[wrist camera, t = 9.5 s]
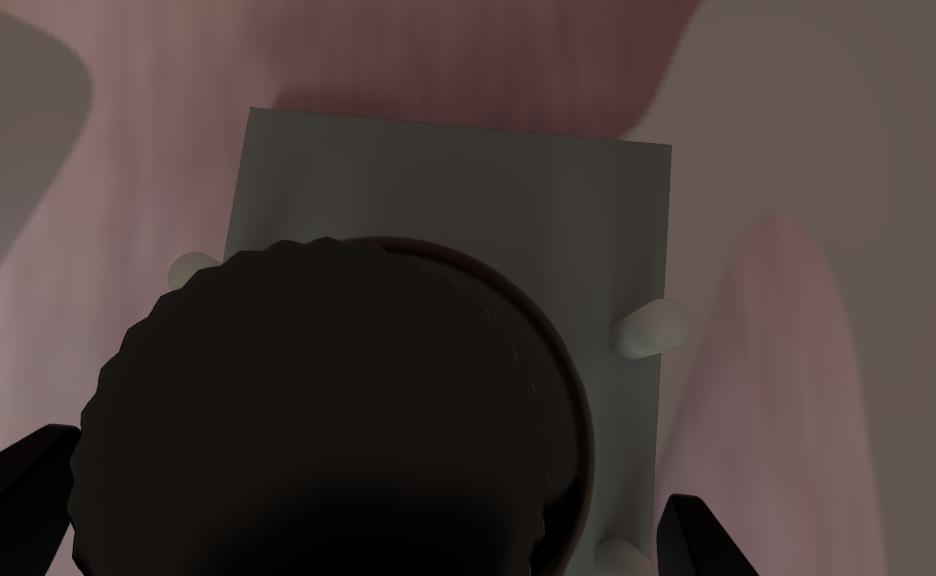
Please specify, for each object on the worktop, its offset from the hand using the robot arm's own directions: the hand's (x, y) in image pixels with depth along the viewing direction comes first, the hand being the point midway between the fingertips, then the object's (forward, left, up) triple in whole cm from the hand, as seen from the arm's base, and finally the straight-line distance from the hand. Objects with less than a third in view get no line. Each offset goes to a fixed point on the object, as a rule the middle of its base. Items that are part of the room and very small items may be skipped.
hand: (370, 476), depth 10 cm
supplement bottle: (0, 0, -8) cm, 8 cm away
